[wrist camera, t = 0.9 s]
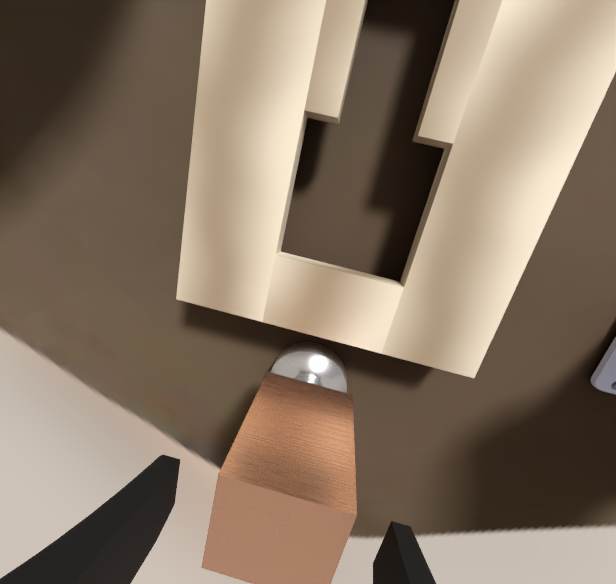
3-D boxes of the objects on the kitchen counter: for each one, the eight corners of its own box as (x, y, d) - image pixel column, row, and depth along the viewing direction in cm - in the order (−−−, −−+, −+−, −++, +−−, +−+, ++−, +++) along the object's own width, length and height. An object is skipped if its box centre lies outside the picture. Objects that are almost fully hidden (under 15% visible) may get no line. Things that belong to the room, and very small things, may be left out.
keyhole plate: (666, -165, 10) (791, -310, 7) (451, 347, 16) (474, 378, 13) (271, -231, 11) (245, -386, 8) (205, 283, 17) (176, 299, 14)
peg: (355, 353, 17) (366, 512, 8) (336, 415, 18) (326, 611, 9) (280, 333, 17) (212, 467, 8) (266, 396, 18) (195, 569, 10)
